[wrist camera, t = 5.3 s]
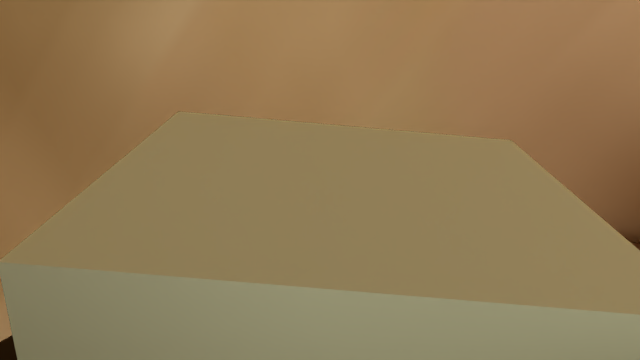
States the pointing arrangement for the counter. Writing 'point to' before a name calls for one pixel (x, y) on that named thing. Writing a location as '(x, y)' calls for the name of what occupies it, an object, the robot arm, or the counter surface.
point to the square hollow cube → (322, 253)
